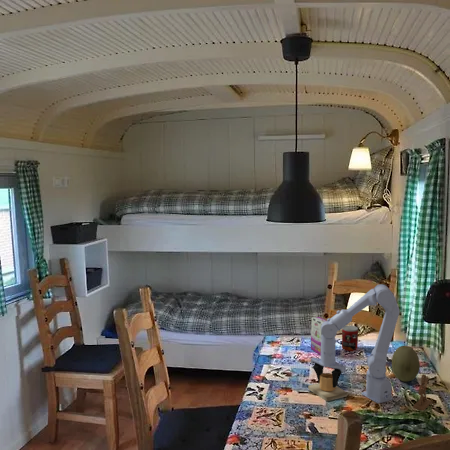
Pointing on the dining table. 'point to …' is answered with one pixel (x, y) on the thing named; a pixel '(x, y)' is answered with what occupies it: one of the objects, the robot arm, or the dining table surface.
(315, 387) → the base block
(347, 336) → the canned food
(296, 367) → the dining table surface
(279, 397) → the dining table surface
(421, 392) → the brown figurine
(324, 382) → the collar
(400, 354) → the fruit
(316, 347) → the candy bar box
